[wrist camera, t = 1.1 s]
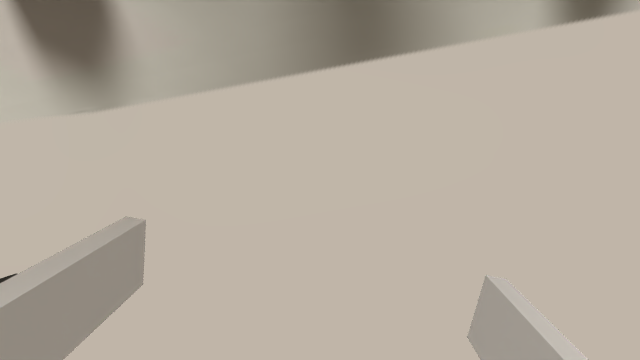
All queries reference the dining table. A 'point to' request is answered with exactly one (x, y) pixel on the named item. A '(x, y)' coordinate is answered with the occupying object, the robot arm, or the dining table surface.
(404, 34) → the dining table surface
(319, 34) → the dining table surface
